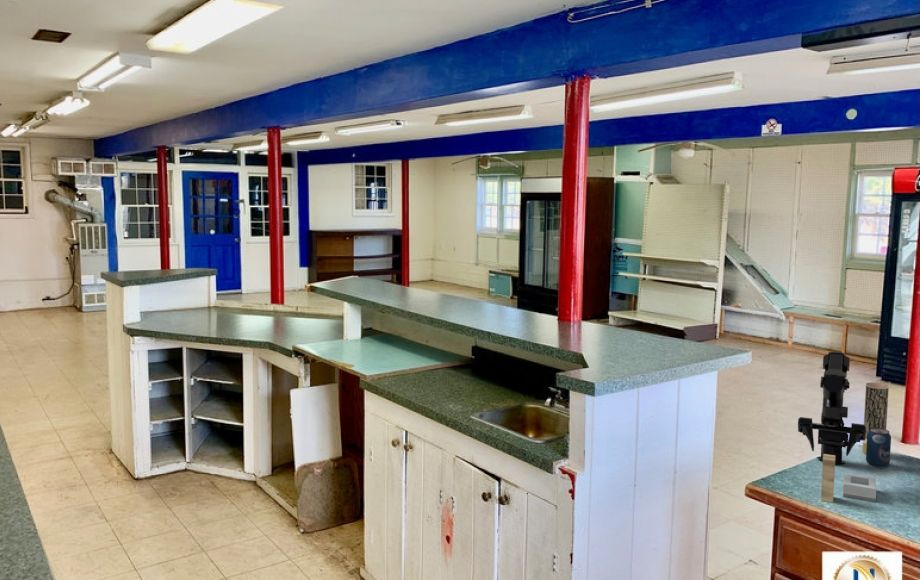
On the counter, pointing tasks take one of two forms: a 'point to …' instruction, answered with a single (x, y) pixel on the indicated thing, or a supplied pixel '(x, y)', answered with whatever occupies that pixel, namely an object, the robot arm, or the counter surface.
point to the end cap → (859, 487)
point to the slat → (828, 478)
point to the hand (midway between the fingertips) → (829, 453)
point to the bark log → (875, 408)
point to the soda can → (878, 447)
